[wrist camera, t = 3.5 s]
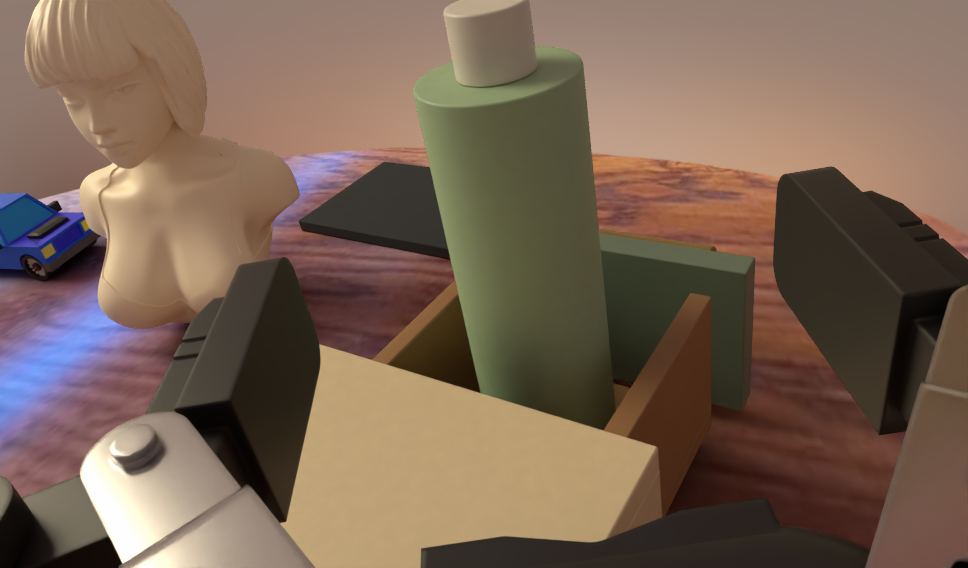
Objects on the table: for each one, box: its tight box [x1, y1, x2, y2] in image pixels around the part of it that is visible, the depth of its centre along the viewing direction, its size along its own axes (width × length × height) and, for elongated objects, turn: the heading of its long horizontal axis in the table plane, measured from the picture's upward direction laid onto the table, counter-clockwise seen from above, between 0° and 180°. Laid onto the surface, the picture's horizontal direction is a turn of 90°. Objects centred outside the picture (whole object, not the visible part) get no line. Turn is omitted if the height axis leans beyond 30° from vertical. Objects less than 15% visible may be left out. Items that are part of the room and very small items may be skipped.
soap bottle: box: [413, 0, 616, 431], centre depth 25 cm, size 5×5×17 cm
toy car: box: [0, 193, 101, 281], centre depth 56 cm, size 7×12×5 cm, turn 72°
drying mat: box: [299, 162, 450, 259], centre depth 53 cm, size 16×10×1 cm, turn 58°
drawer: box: [372, 229, 755, 517], centre depth 29 cm, size 19×12×7 cm, turn 148°
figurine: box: [25, 0, 300, 329], centre depth 41 cm, size 14×9×20 cm
